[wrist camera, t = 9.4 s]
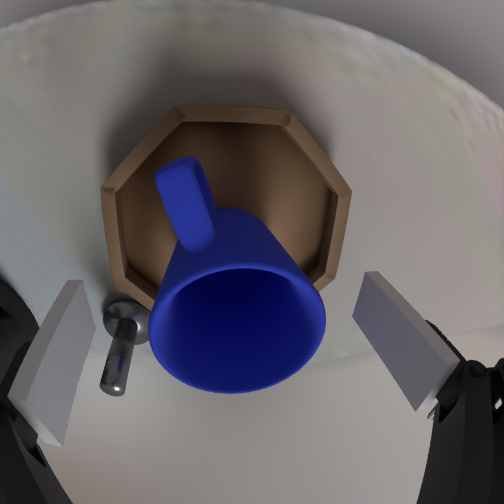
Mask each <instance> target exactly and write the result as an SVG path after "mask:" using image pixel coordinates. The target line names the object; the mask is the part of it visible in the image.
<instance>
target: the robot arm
mask: <svg viewBox="0 0 504 504" xmlns="http://www.w3.org/2000/svg"><path fill="white" fill-rule="evenodd" d="M352 317H353V319H354V320H355V321H356V323H357V324H358V326H359V327H360V329H361V330H362V332H363V333H364V334H365V336H366V337H367V339H368V340H369V342H370V343H371V345H372V346H373V348H374V349H375V351H376V352H377V353H378V355H379V356H380V358H381V359H382V361H383V362H384V364H385V365H386V367H387V368H388V370H389V371H390V373H391V375H392V376H393V378H394V379H395V380H396V382H397V384H398V385H399V387H400V388H401V390H402V391H403V393H404V394H405V396H406V398H407V399H408V401H409V402H410V404H411V405H412V407H413V409H414V410H415V412H416V411H419V410H421V409H424V408H426V407H428V406H429V405H430V404H431V402H432V401H433V400H434V398H435V397H436V398H437V400H438V401H439V402H438V403H437V404H436V406H435V407H434V408H433V409H432V411H431V412H430V413H429V414H428V417H427V419H429V418H430V417H431V416H432V415H433V413H434V417H433V419H432V420H434V422H433V429H432V436H431V442H430V448H429V454H428V459H427V464H426V468H425V473H424V477H423V481H422V485H421V489H420V493H419V497H418V500H417V504H504V358H501V359H500V360H499V361H498V362H497V364H496V365H495V367H490V368H486V367H485V366H484V365H483V364H482V363H480V362H478V361H475V360H469V361H466V360H465V358H464V357H463V356H462V355H461V354H460V353H459V351H458V350H457V349H456V348H455V347H454V346H453V345H452V344H451V342H450V341H449V340H447V338H446V337H445V336H444V335H442V332H441V331H440V330H439V329H438V328H437V327H436V326H435V325H434V324H432V323H431V322H429V321H427V320H424V319H423V318H422V317H421V315H420V314H419V313H418V312H417V311H416V310H415V309H414V308H413V307H412V306H411V305H410V304H409V303H408V302H407V301H406V300H405V299H404V297H403V296H402V295H401V294H400V293H399V292H398V291H397V290H396V289H395V288H394V287H393V286H392V285H391V284H390V283H389V282H388V281H387V280H386V279H385V278H384V277H383V276H382V275H381V274H380V273H379V272H378V271H373V272H365V275H364V278H363V282H362V286H361V289H360V293H359V296H358V300H357V303H356V306H355V309H354V313H353V316H352ZM95 329H96V327H95V324H94V321H93V317H92V314H91V311H90V307H89V303H88V300H87V296H86V292H85V288H84V284H83V280H68V281H67V282H66V284H65V285H64V287H63V289H62V290H61V292H60V293H59V295H58V297H57V298H56V300H55V302H54V303H53V305H52V307H51V309H50V310H49V312H48V314H47V316H46V317H45V319H44V321H43V323H42V325H41V326H40V328H38V325H37V323H36V322H35V320H34V318H33V316H32V315H31V313H30V312H29V310H28V309H27V307H26V306H25V305H24V303H23V302H22V301H21V300H20V298H19V297H18V296H17V295H16V294H15V293H14V292H13V291H12V290H11V289H10V288H9V287H8V286H7V285H6V284H5V283H4V282H2V281H1V280H0V504H73V503H72V502H71V500H70V499H69V498H68V496H67V494H66V493H65V491H64V489H63V488H62V486H61V485H60V483H59V481H58V480H57V478H56V476H55V475H54V473H53V471H52V469H51V467H50V466H49V464H48V462H47V460H46V458H45V456H44V454H43V452H42V450H41V448H40V446H39V445H38V444H37V442H36V441H37V437H38V435H39V437H40V438H41V439H42V440H43V441H44V442H45V443H48V444H53V445H56V446H61V447H62V446H63V443H64V438H65V434H66V429H67V424H68V420H69V416H70V412H71V408H72V404H73V400H74V396H75V393H76V389H77V385H78V382H79V379H80V375H81V372H82V368H83V365H84V362H85V359H86V356H87V353H88V350H89V347H90V344H91V341H92V338H93V335H94V332H95ZM500 398H501V401H502V404H501V406H500V407H499V408H498V409H496V408H495V404H496V403H497V402H498V401H499V399H500Z"/></svg>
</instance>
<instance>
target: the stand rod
mask: <svg viewBox="0 0 504 504" xmlns="http://www.w3.org/2000/svg"><path fill="white" fill-rule="evenodd" d="M150 313H151V312H150V311H149V310H148V309H147V308H146V307H145V306H143V305H142V304H141V303H139V302H137V301H134V300H130V299H119V300H116V301H114V302H112V303H111V304H110V305H109V306H108V307H107V309H106V311H105V314H104V317H103V323H104V326H105V329H106V330H107V332H108V333H109V334H110V335H111V336H112V337H113V340H112V343H111V346H110V350H109V353H108V356H107V360H106V363H105V367H104V371H103V374H102V378H101V382H100V388H101V389H102V391H104V392H105V393H107V394H109V395H111V396H122V395H123V394H124V393H125V388H126V382H127V377H128V372H129V367H130V362H131V358H132V353H133V348H134V345H139V344H142V343H145V342H147V341H148V340H149V336H148V323H149V317H150Z"/></svg>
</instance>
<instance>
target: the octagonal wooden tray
mask: <svg viewBox="0 0 504 504" xmlns="http://www.w3.org/2000/svg"><path fill="white" fill-rule="evenodd" d="M186 156H193V157H196V158H197V159H198V160H199V162H200V163H201V165H202V168H203V170H204V172H205V175H206V178H207V180H208V183H209V186H210V189H211V192H212V195H213V198H214V202H215V206H216V209H217V208H226V207H227V208H237V209H241V210H244V211H247V212H249V213H251V214H253V215H254V216H256V217H257V218H259V219H260V220H261V221H262V222H263V223H264V224H265V225H266V226H267V228H268V229H269V230H270V231H271V232H272V234H273V235H274V236H275V237H276V239H277V240H278V241H279V242H280V244H281V245H282V246H283V247H284V249H285V250H286V251H287V252H288V254H289V255H290V256H291V257H292V259H293V260H294V261H295V262H296V264H297V265H298V266H299V267H300V269H301V270H302V271H303V273H304V274H305V275H306V276H307V278H308V279H309V280H310V281H311V283H312V284H313V285H314V287H315V288H316V289H317V291H318V292H319V291H320V290H322V289H323V288H324V287H325V286H326V285H328V284H329V283H330V282H331V281H333V280H334V279H335V277H336V273H337V268H338V264H339V259H340V254H341V249H342V244H343V239H344V234H345V229H346V224H347V218H348V213H349V207H350V201H351V195H352V190H351V189H350V187H349V186H348V185H347V183H346V182H345V180H344V179H343V177H342V176H341V175H340V173H339V172H338V170H337V169H336V168H335V166H334V165H333V164H332V162H331V161H330V159H329V158H328V157H327V155H326V154H325V153H324V151H323V150H322V149H321V147H320V146H319V145H318V144H317V142H316V141H315V140H314V138H313V137H312V136H311V135H310V133H309V132H308V131H307V130H306V128H305V127H304V126H303V125H302V123H301V122H300V121H299V120H298V118H297V117H296V116H295V115H294V114H293V112H292V111H287V110H277V109H266V108H253V107H236V106H175V107H174V108H173V109H172V110H171V111H170V112H169V113H168V114H167V115H166V116H165V117H164V118H162V119H161V120H160V121H159V122H158V123H157V124H156V126H155V127H154V128H153V129H152V130H151V131H150V132H149V133H148V134H147V135H146V136H145V137H144V138H143V139H142V140H141V141H140V142H139V143H138V144H137V145H136V147H135V148H134V149H133V150H132V151H131V152H130V153H129V154H128V155H127V157H126V158H125V159H124V160H123V161H122V162H121V163H120V165H119V166H118V167H117V168H116V169H115V171H114V172H113V173H112V174H111V175H110V177H109V178H108V179H107V180H106V181H105V183H104V184H103V185H102V186H101V199H102V209H103V219H104V227H105V235H106V242H107V249H108V255H109V261H110V267H111V273H112V278H113V282H114V283H115V284H117V285H118V286H119V287H120V288H121V289H123V290H124V291H125V292H127V293H128V294H129V295H130V296H132V297H133V298H134V299H136V300H137V301H138V302H139V303H141V304H142V305H143V306H145V307H146V308H147V309H149V310H150V311H151V310H152V307H153V305H154V302H155V299H156V296H157V293H158V291H159V288H160V285H161V282H162V280H163V277H164V274H165V272H166V269H167V267H168V264H169V261H170V259H171V256H172V254H173V251H174V249H175V246H176V244H177V241H178V239H179V238H178V236H177V234H176V232H175V230H174V228H173V226H172V224H171V221H170V219H169V217H168V214H167V212H166V209H165V207H164V204H163V202H162V199H161V196H160V194H159V191H158V188H157V185H156V182H155V174H156V172H157V171H158V170H159V169H160V168H161V167H163V166H164V165H166V164H168V163H170V162H172V161H174V160H176V159H179V158H182V157H186Z"/></svg>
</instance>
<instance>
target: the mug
mask: <svg viewBox="0 0 504 504" xmlns="http://www.w3.org/2000/svg"><path fill="white" fill-rule="evenodd" d="M155 182H156V185H157V188H158V191H159V194H160V196H161V199H162V202H163V204H164V207H165V209H166V212H167V214H168V217H169V219H170V221H171V224H172V226H173V228H174V230H175V232H176V234H177V236H178V238H179V239H178V241H177V244H176V246H175V249H174V251H173V254H172V256H171V259H170V261H169V264H168V267H167V269H166V272H165V274H164V277H163V280H162V282H161V285H160V288H159V291H158V293H157V296H156V299H155V302H154V305H153V307H152V310H151V313H150V317H149V323H148V336H149V342H150V346H151V348H152V351H153V353H154V355H155V357H156V359H157V360H158V362H159V363H160V364H161V365H162V367H163V368H164V369H165V370H167V371H168V373H170V374H171V375H172V376H174V377H175V378H176V379H178V380H180V381H181V382H183V383H185V384H187V385H189V386H192V387H194V388H197V389H200V390H204V391H209V392H214V393H226V394H234V393H247V392H252V391H257V390H261V389H264V388H267V387H270V386H273V385H275V384H277V383H279V382H281V381H283V380H285V379H287V378H289V377H290V376H291V375H293V374H294V373H296V372H297V371H299V370H300V369H301V368H302V367H303V366H304V365H305V364H306V363H307V362H308V361H309V360H310V359H311V358H312V356H313V355H314V354H315V352H316V350H317V349H318V347H319V345H320V343H321V341H322V338H323V335H324V332H325V326H326V314H325V308H324V304H323V301H322V299H321V296H320V294H319V293H318V291H317V289H316V288H315V287H314V285H313V284H312V283H311V281H310V280H309V279H308V278H307V276H306V275H305V274H304V273H303V271H302V270H301V269H300V267H299V266H298V265H297V264H296V262H295V261H294V260H293V259H292V257H291V256H290V255H289V254H288V252H287V251H286V250H285V249H284V247H283V246H282V245H281V244H280V242H279V241H278V240H277V239H276V237H275V236H274V235H273V234H272V232H271V231H270V230H269V229H268V228H267V226H266V225H265V224H264V223H263V222H262V221H261V220H260V219H259V218H257V217H256V216H254V215H253V214H251V213H249V212H247V211H244V210H241V209H237V208H227V207H226V208H217V209H216V206H215V202H214V198H213V195H212V192H211V189H210V186H209V183H208V180H207V178H206V175H205V172H204V170H203V168H202V165H201V163H200V162H199V160H198V159H197V158H196V157H193V156H186V157H182V158H179V159H176V160H174V161H172V162H170V163H168V164H166V165H164V166H163V167H161V168H160V169H159V170H158V171H157V172H156V174H155Z"/></svg>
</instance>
